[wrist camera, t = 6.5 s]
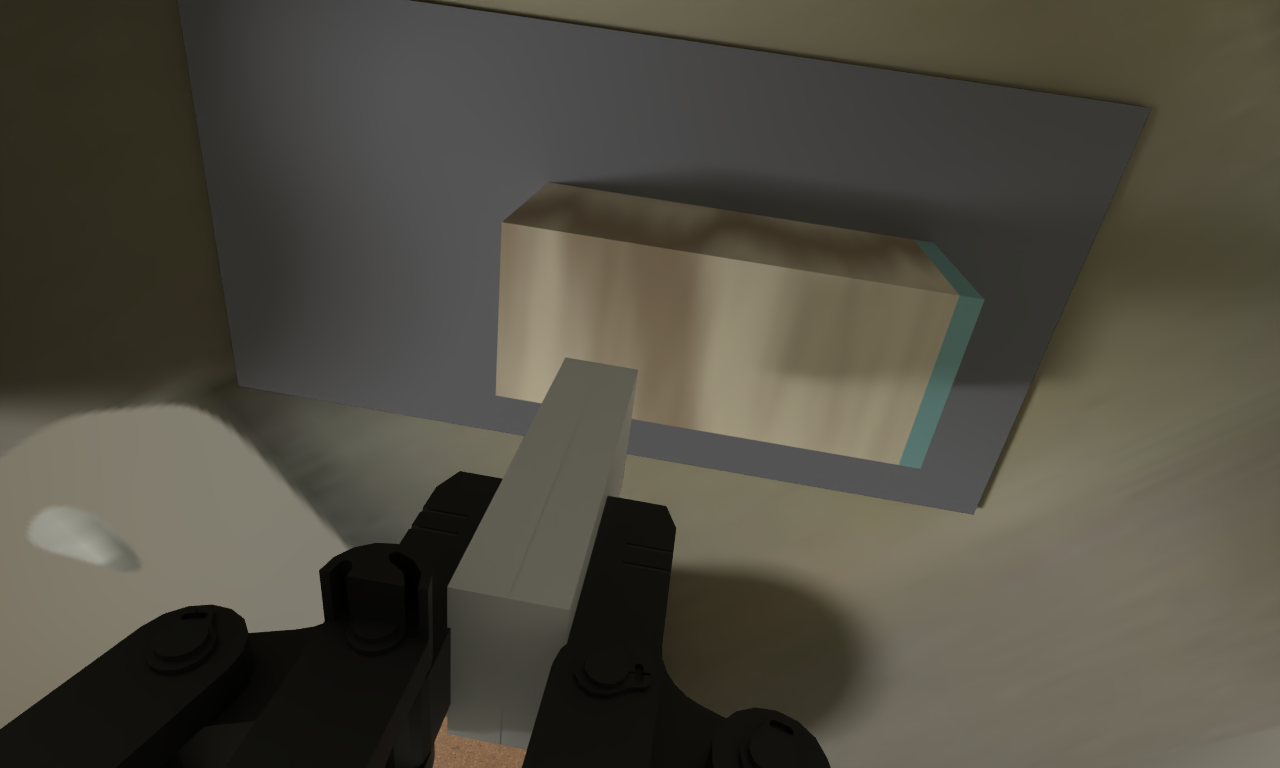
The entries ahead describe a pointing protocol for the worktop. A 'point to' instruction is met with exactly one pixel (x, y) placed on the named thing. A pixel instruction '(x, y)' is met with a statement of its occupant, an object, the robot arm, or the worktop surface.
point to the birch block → (736, 320)
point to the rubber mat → (614, 162)
